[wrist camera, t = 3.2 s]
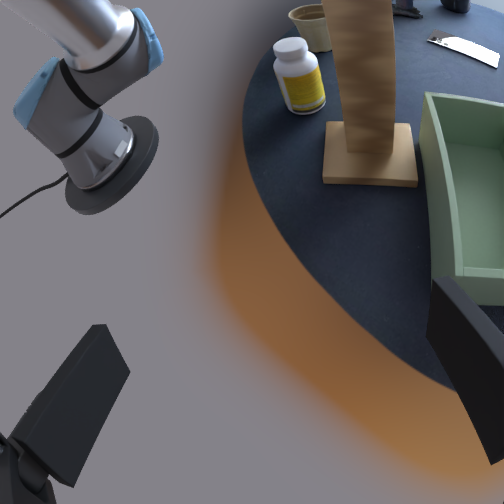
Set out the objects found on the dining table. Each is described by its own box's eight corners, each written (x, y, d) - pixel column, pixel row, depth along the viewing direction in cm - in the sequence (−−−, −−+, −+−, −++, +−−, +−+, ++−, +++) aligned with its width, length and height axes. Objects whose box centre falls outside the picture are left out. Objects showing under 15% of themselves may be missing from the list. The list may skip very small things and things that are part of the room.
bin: (430, 303, 28) (455, 275, 20) (418, 140, 36) (424, 91, 28) (529, 306, 23) (569, 281, 15) (500, 150, 31) (516, 106, 23)
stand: (322, 197, 37) (238, -70, 10) (328, 119, 42) (271, -82, 15) (418, 201, 33) (439, -77, 6) (407, 121, 37) (394, -88, 11)
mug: (441, 1, 50) (441, -19, 44) (470, 9, 46) (470, -10, 40) (437, 11, 48) (436, -11, 42) (469, 21, 44) (469, -1, 38)
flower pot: (307, 35, 54) (298, 3, 46) (348, 38, 50) (342, 4, 42) (291, 55, 52) (280, 20, 44) (336, 59, 48) (328, 21, 40)
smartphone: (496, 67, 36) (427, 39, 43) (496, 70, 36) (427, 41, 44) (499, 54, 37) (434, 28, 44) (498, 56, 37) (434, 30, 45)
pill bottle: (333, 108, 42) (320, 46, 32) (294, 121, 43) (275, 60, 33) (316, 87, 45) (301, 30, 35) (281, 100, 46) (261, 43, 36)
